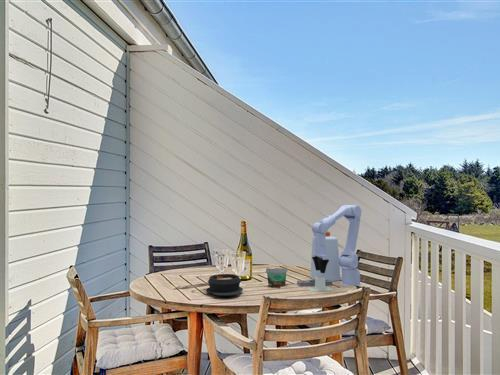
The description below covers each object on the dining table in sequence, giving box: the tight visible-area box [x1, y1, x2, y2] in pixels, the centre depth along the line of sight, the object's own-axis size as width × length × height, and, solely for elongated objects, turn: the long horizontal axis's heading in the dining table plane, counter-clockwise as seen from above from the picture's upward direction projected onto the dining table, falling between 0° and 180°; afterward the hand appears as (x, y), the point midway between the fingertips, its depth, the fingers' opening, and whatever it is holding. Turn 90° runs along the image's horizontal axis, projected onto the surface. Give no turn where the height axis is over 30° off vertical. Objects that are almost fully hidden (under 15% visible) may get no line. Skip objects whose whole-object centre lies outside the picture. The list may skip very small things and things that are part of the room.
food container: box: [265, 266, 289, 288], centre depth 211 cm, size 12×6×10 cm, turn 105°
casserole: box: [205, 273, 244, 297], centre depth 197 cm, size 25×19×8 cm
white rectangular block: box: [314, 277, 326, 290], centre depth 203 cm, size 4×3×6 cm, turn 98°
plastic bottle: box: [310, 231, 342, 282], centre depth 229 cm, size 15×15×28 cm
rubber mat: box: [307, 286, 334, 292], centre depth 203 cm, size 12×8×1 cm, turn 98°
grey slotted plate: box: [296, 279, 333, 288], centre depth 213 cm, size 18×6×3 cm, turn 98°
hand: (320, 271), depth 203 cm, fingers open, 7 cm apart
